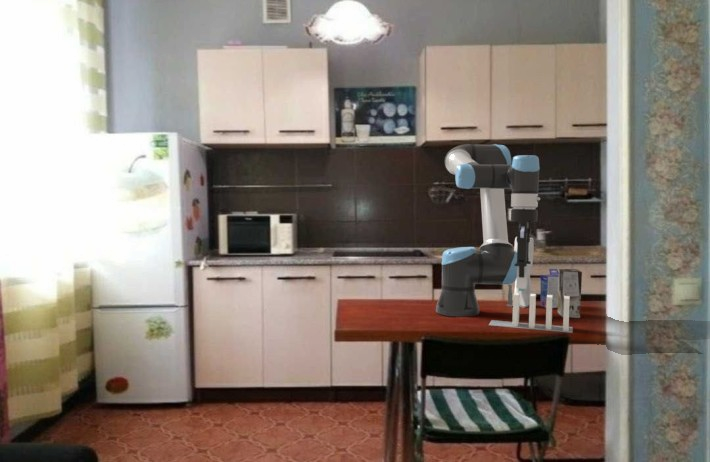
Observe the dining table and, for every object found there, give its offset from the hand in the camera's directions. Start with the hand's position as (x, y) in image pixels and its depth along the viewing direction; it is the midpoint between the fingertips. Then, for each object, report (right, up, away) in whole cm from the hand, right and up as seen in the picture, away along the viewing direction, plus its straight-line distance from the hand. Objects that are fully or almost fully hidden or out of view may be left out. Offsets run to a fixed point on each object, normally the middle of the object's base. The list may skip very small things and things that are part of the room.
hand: (522, 286), depth 162 cm
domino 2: (+7, -14, +11) cm, 19 cm away
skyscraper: (+15, -12, +49) cm, 53 cm away
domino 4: (+16, -14, +8) cm, 23 cm away
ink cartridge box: (+27, -13, +48) cm, 56 cm away
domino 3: (+11, -14, +10) cm, 20 cm away
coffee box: (+26, -13, +32) cm, 43 cm away
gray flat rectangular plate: (+6, -14, +12) cm, 19 cm away
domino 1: (+2, -13, +13) cm, 19 cm away
